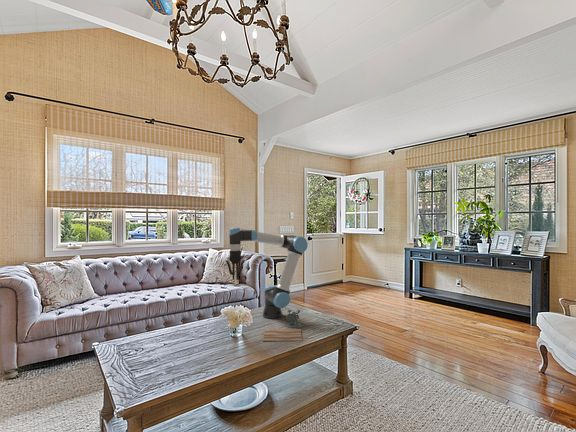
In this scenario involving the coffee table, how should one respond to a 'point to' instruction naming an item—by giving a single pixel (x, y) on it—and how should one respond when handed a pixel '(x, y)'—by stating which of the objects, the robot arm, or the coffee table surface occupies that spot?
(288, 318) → the figurine
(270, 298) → the robot arm
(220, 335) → the coffee table surface
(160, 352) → the coffee table surface
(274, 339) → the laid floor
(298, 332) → the plank
